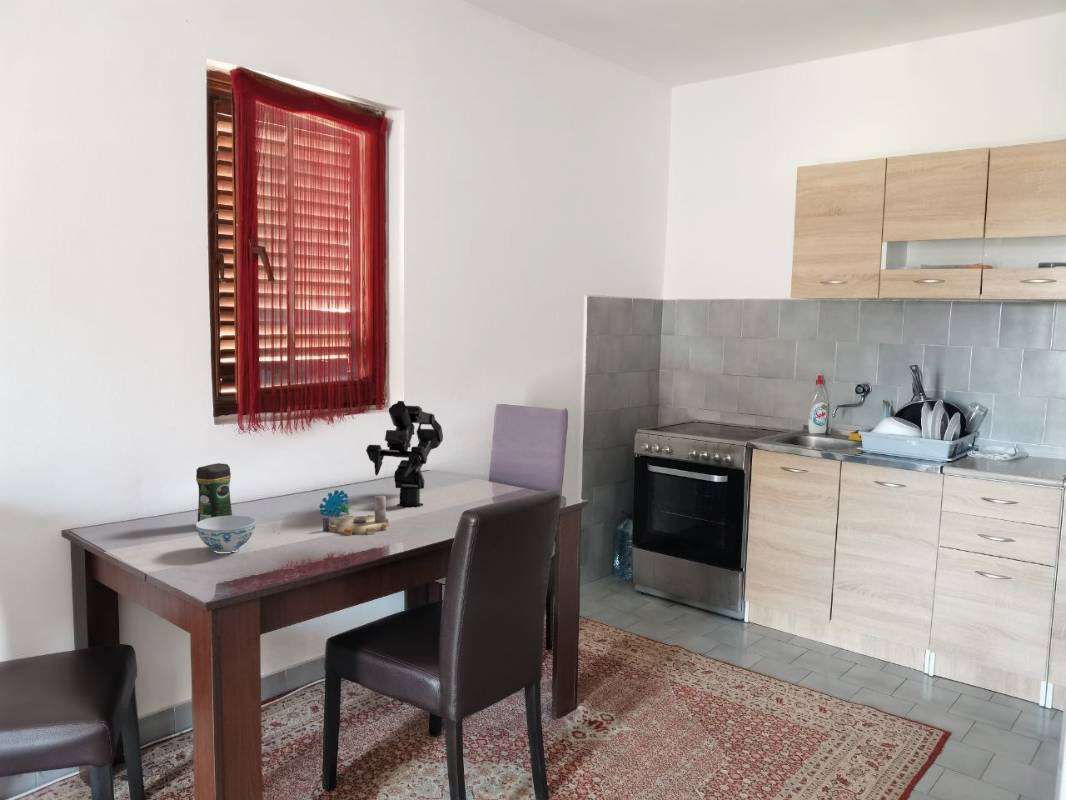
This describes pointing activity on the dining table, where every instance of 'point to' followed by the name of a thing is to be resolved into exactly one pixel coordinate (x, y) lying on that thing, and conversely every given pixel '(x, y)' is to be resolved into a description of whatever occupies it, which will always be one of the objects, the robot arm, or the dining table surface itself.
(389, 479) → the dining table surface
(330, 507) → the gear
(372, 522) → the turntable
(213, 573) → the dining table surface
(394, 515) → the dining table surface
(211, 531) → the chinaware
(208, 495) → the coffee jar
